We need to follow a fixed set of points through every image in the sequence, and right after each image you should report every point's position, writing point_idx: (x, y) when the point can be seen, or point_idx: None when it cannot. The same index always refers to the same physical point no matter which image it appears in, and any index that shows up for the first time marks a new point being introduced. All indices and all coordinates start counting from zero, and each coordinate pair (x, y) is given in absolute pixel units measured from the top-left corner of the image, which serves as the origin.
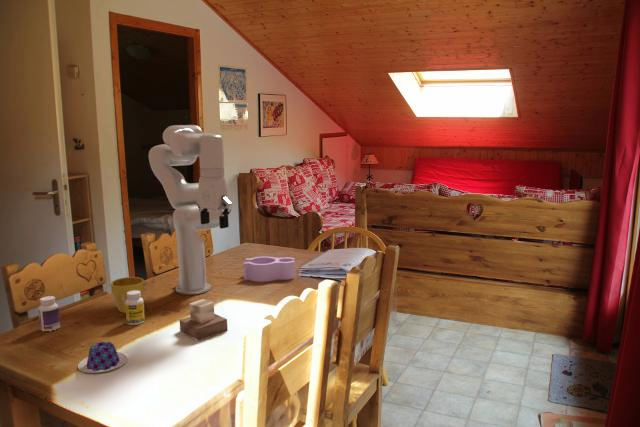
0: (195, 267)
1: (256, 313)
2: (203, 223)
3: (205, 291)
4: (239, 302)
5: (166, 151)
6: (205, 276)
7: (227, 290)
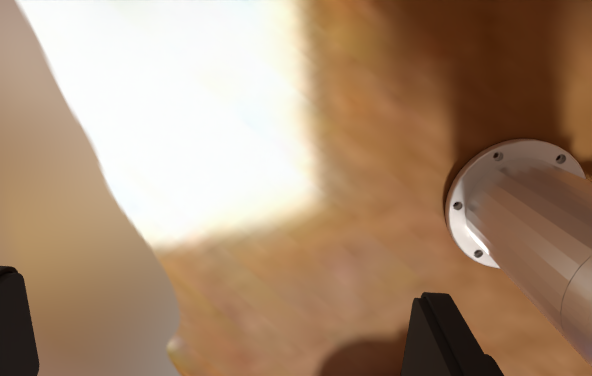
0: (522, 226)
1: (124, 162)
2: (415, 315)
3: (445, 208)
4: (256, 204)
5: None
6: (489, 255)
7: (389, 266)
